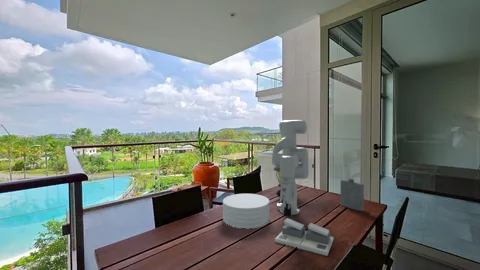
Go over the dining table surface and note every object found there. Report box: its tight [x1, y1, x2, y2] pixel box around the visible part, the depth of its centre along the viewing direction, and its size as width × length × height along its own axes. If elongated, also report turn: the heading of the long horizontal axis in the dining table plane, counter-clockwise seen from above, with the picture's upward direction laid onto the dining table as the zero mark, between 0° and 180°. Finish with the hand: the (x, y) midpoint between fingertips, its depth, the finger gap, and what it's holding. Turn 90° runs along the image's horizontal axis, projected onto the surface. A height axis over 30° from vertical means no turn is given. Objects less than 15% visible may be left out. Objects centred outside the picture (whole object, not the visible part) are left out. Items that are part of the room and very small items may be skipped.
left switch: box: [283, 217, 305, 230], centre depth 116 cm, size 9×4×1 cm, turn 59°
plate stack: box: [222, 193, 270, 230], centre depth 140 cm, size 28×28×12 cm
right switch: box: [307, 222, 330, 236], centre depth 110 cm, size 9×4×1 cm, turn 59°
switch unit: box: [274, 223, 335, 257], centre depth 112 cm, size 24×16×4 cm, turn 59°
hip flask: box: [339, 177, 365, 212], centre depth 157 cm, size 16×4×20 cm, turn 34°
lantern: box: [273, 167, 281, 197], centre depth 188 cm, size 25×19×30 cm
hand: (287, 215), depth 118 cm, fingers closed
